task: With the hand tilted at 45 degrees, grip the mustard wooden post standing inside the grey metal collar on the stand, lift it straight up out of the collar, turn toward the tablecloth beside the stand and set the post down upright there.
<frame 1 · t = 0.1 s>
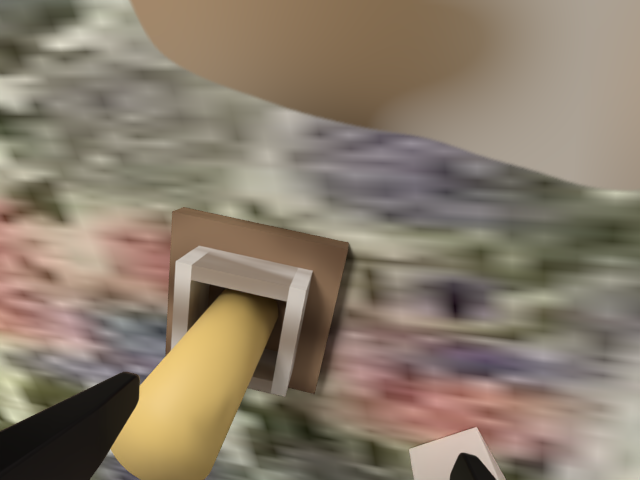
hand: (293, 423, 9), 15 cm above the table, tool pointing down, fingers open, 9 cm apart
milk: (455, 460, 27), on the table
stand: (254, 299, 25), on the table
post: (248, 309, 23), point 1 cm above the table, touching stand
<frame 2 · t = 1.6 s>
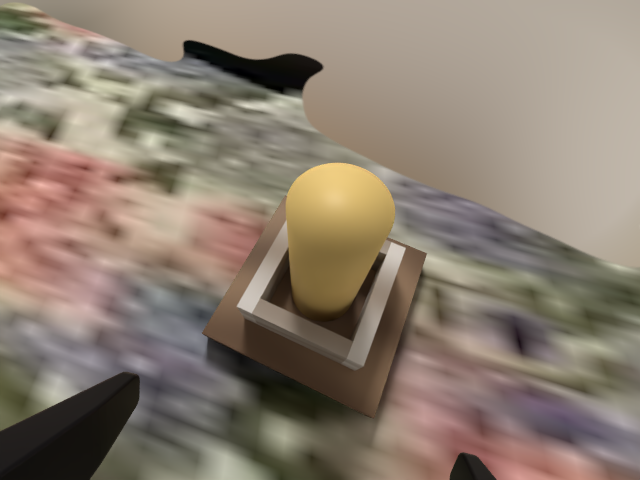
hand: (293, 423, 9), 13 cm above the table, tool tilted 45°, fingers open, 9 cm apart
stand: (321, 296, 24), on the table
post: (323, 290, 23), point 1 cm above the table, touching stand
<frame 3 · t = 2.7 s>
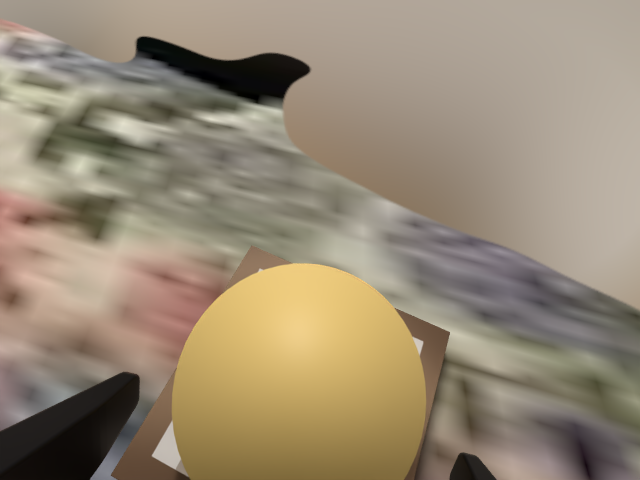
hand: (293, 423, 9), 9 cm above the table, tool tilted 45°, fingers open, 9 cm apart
stand: (300, 396, 17), on the table
post: (300, 395, 15), point 1 cm above the table, touching stand
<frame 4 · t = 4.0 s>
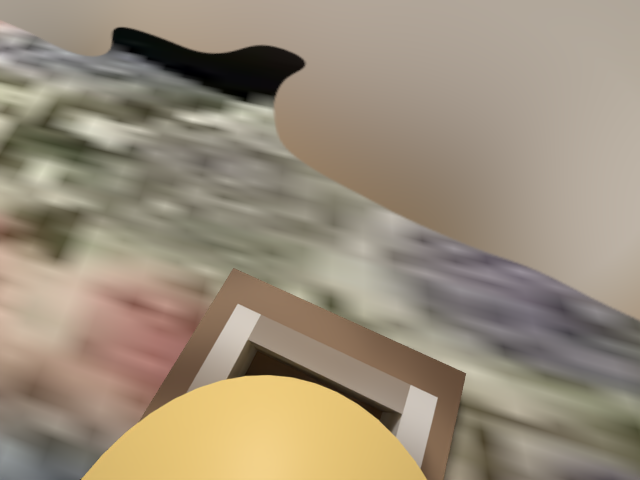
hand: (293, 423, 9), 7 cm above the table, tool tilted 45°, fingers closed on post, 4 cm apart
stand: (288, 450, 14), on the table
post: (287, 455, 13), point 1 cm above the table, touching gripper, stand
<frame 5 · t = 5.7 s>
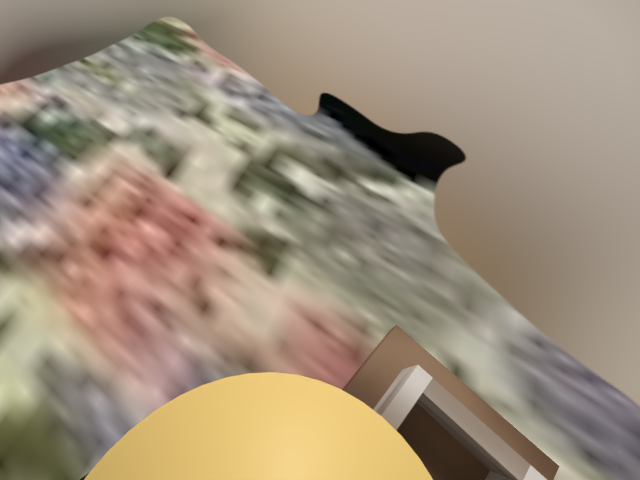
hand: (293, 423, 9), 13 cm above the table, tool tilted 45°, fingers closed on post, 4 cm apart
stand: (410, 470, 20), on the table
post: (288, 454, 13), point 8 cm above the table, touching gripper
when the fingers open (7 cm above the table, at t = 7.8 s): post drops 1 cm, on the table.
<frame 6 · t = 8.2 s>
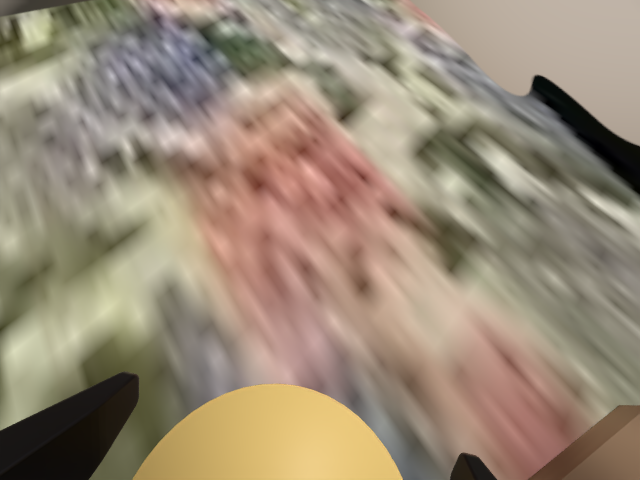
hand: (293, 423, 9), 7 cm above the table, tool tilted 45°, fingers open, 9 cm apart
post: (288, 450, 14), on the table
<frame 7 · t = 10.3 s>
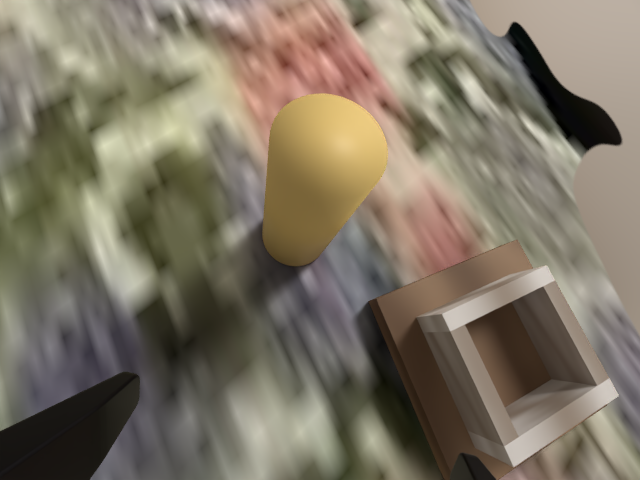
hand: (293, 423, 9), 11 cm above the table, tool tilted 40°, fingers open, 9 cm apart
stand: (479, 352, 22), on the table
post: (295, 234, 22), on the table
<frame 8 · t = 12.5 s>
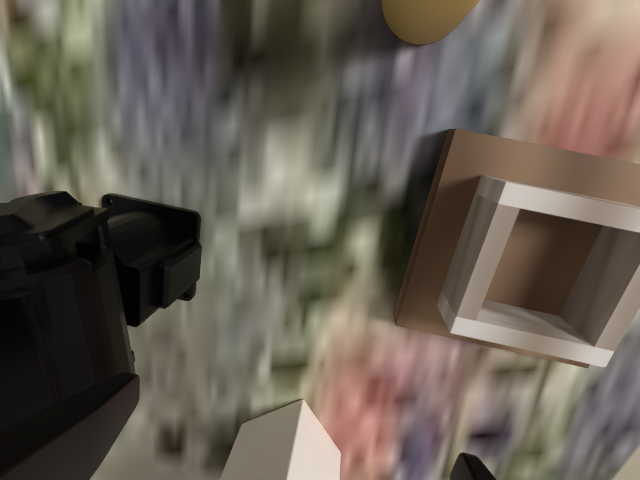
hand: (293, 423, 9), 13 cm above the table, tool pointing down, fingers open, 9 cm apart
milk: (291, 435, 26), on the table
stand: (515, 250, 20), on the table
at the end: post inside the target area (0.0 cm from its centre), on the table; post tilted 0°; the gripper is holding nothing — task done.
